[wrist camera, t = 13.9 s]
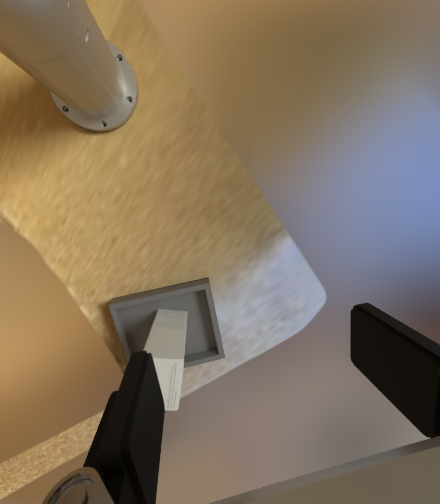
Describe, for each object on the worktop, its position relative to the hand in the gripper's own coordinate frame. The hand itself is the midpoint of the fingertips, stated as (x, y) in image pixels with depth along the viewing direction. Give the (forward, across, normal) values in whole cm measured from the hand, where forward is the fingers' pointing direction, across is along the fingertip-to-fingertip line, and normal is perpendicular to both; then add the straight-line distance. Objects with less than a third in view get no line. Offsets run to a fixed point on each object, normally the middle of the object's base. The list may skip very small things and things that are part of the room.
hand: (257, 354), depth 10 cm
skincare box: (+32, +9, +17) cm, 38 cm away
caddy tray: (+33, +9, +17) cm, 38 cm away
